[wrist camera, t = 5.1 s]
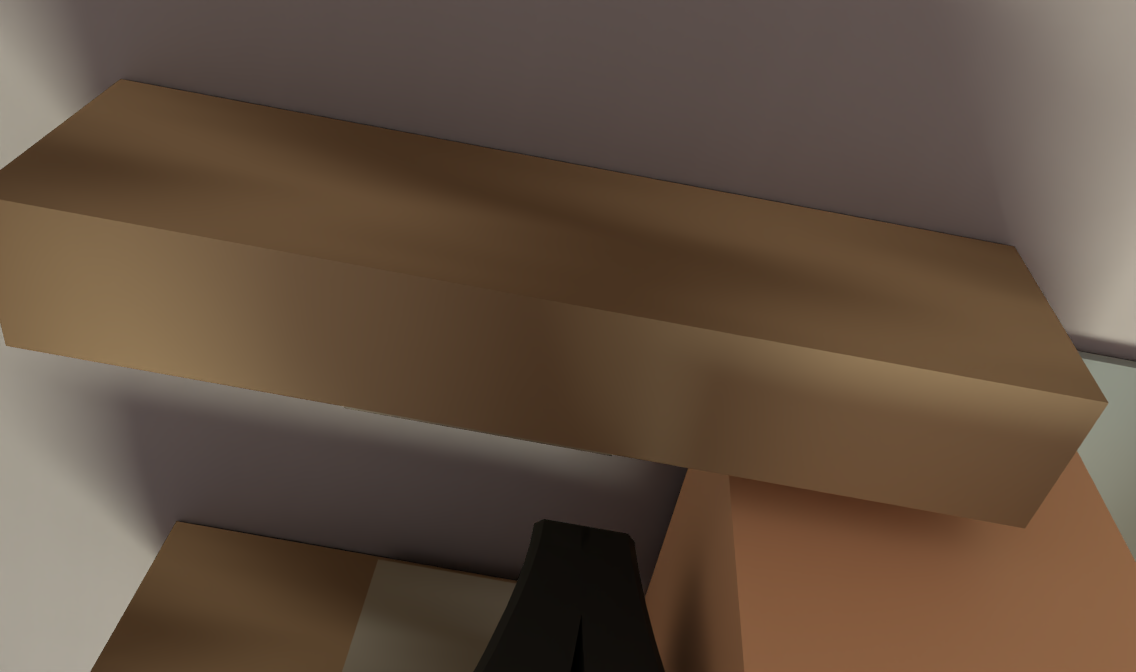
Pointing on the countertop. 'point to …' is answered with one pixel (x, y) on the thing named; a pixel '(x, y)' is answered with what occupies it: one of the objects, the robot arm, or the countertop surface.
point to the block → (889, 584)
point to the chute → (521, 346)
